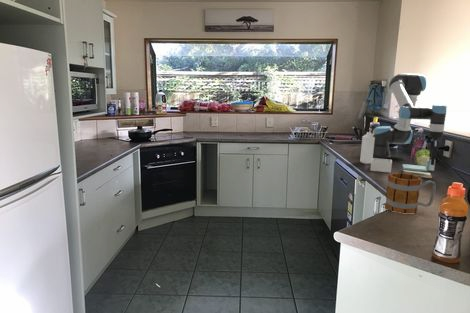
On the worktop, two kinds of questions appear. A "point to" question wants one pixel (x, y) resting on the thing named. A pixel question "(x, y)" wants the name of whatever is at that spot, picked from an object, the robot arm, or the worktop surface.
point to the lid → (417, 167)
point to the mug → (405, 192)
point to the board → (419, 174)
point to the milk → (367, 148)
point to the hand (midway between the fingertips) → (430, 169)
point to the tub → (381, 165)
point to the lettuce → (422, 157)
